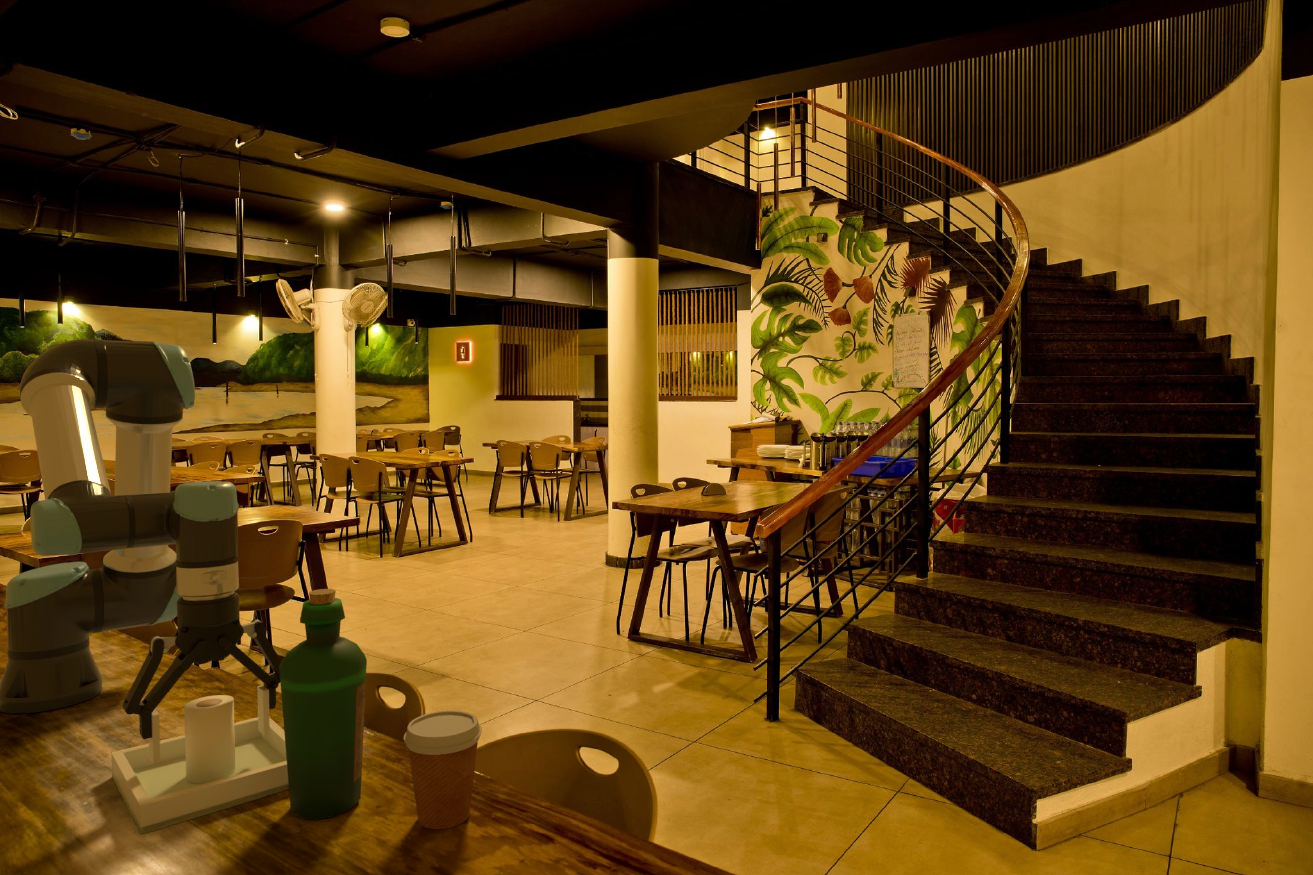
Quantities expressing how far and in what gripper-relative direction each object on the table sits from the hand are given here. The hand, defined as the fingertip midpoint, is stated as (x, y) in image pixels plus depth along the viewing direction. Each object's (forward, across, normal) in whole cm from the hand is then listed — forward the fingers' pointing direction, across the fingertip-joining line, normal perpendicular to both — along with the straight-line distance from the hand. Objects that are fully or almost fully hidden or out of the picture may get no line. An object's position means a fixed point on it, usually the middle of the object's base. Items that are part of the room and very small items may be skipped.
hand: (211, 746), depth 112 cm
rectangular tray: (+5, 0, 0) cm, 5 cm away
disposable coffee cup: (+5, +19, -31) cm, 37 cm away
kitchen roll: (+4, 0, 0) cm, 4 cm away
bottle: (+5, +9, -18) cm, 21 cm away
